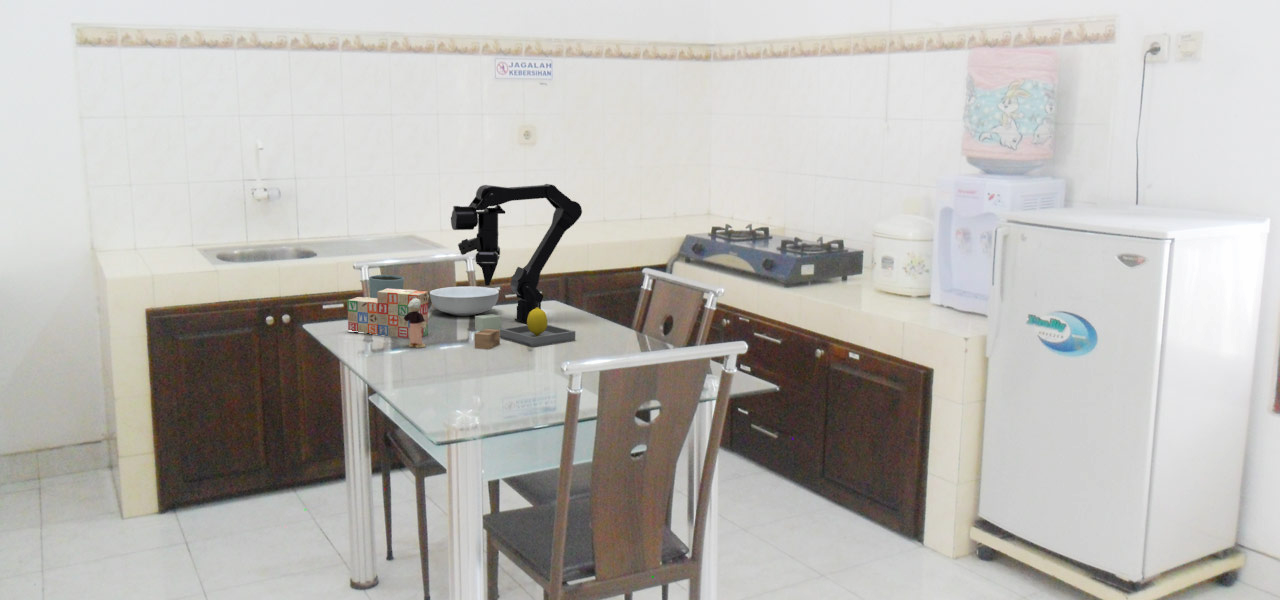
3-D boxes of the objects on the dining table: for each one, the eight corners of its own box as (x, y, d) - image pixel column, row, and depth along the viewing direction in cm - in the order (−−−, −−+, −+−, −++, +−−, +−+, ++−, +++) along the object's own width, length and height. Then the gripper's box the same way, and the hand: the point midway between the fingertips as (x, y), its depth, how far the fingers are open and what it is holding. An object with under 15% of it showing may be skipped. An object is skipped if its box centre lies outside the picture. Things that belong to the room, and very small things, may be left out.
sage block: (493, 327, 310) (493, 314, 309) (500, 330, 307) (500, 316, 306) (475, 330, 306) (475, 316, 305) (482, 332, 303) (482, 318, 302)
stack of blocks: (347, 333, 297) (346, 289, 295) (358, 329, 303) (357, 285, 301) (418, 339, 292) (418, 294, 290) (428, 334, 298) (428, 290, 296)
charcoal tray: (542, 331, 305) (542, 323, 305) (575, 340, 295) (575, 331, 294) (499, 338, 295) (499, 329, 295) (532, 347, 285) (532, 337, 284)
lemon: (527, 334, 297) (527, 305, 296) (547, 334, 298) (547, 305, 296) (526, 338, 292) (527, 309, 290) (547, 338, 292) (547, 309, 291)
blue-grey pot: (369, 314, 325) (369, 274, 323) (404, 313, 327) (403, 274, 325) (369, 320, 315) (369, 279, 313) (405, 319, 318) (404, 279, 316)
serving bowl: (472, 305, 345) (472, 283, 344) (512, 314, 330) (512, 292, 329) (416, 312, 331) (416, 289, 329) (456, 322, 316) (455, 299, 315)
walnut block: (486, 343, 289) (486, 328, 288) (499, 344, 288) (499, 329, 287) (474, 348, 282) (474, 333, 282) (488, 349, 281) (488, 334, 280)
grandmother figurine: (432, 346, 283) (431, 298, 281) (424, 348, 279) (424, 300, 277) (406, 343, 285) (405, 296, 283) (398, 346, 282) (397, 298, 280)
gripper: (462, 225, 319) (462, 277, 321) (457, 232, 300) (457, 287, 303) (500, 226, 320) (500, 278, 322) (497, 233, 301) (497, 288, 304)
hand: (488, 282), depth 313 cm, fingers open, 9 cm apart
